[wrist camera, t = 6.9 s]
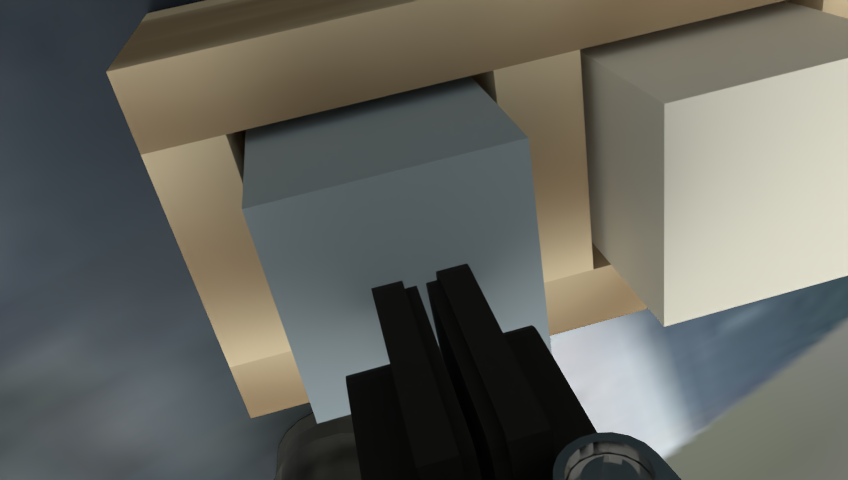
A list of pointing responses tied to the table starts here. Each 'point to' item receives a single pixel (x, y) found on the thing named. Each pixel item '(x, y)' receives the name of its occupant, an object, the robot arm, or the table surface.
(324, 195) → the blue key
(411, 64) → the key box
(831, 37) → the white key
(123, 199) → the table surface
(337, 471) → the beverage cup
